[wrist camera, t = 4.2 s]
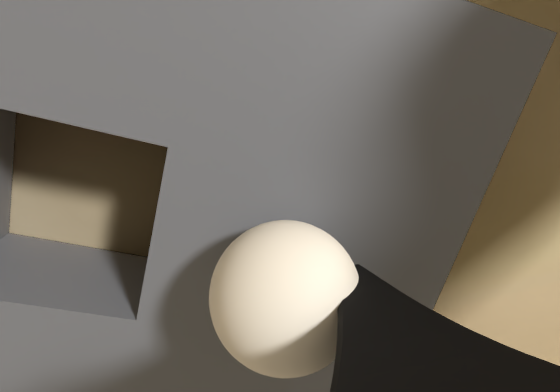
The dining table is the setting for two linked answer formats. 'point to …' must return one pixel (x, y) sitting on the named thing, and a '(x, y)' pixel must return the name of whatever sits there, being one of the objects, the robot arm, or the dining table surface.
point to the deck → (247, 162)
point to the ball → (281, 297)
